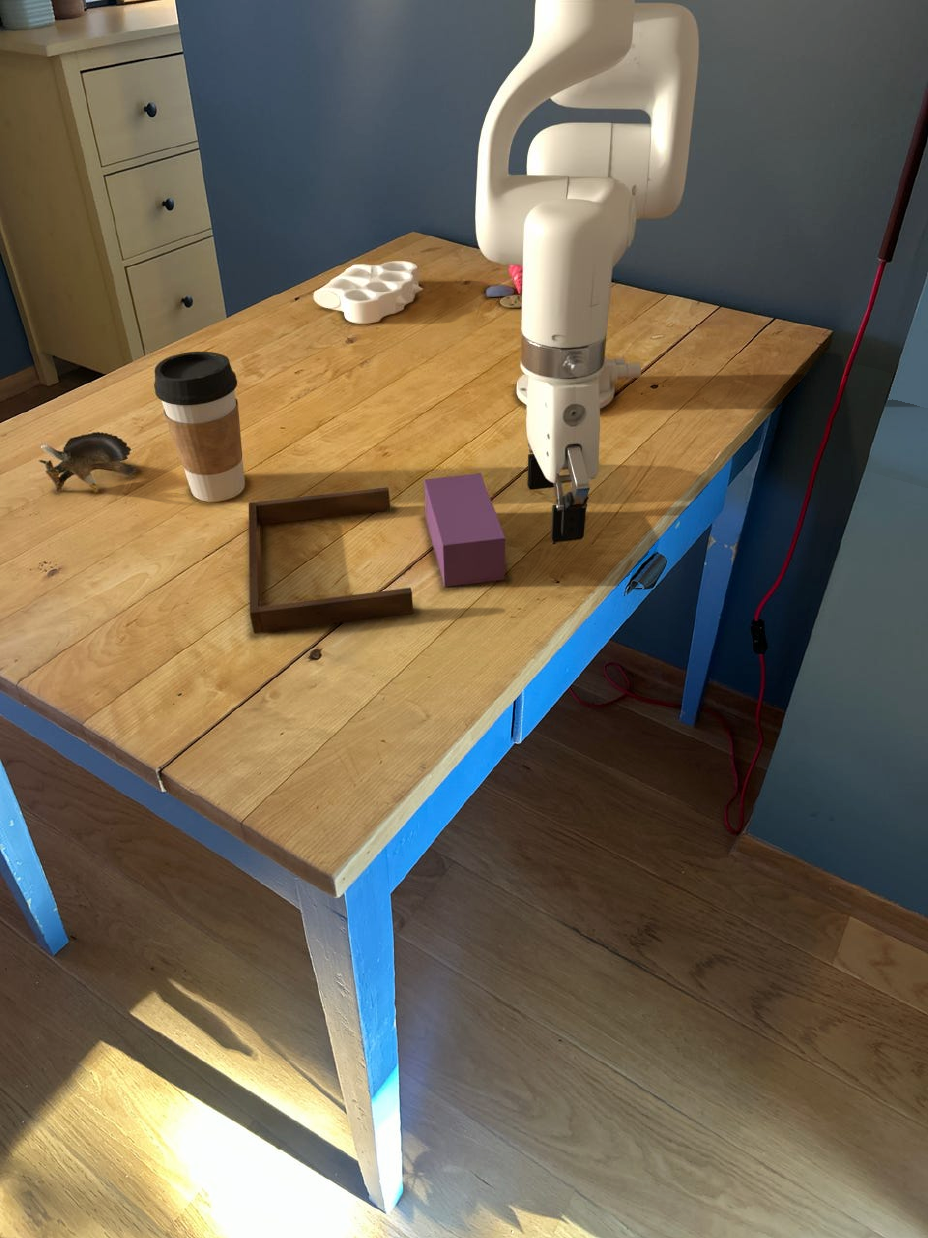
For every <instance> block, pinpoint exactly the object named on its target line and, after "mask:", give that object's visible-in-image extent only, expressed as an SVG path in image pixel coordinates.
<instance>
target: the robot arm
mask: <svg viewBox="0 0 928 1238" xmlns="http://www.w3.org/2000/svg"><path fill="white" fill-rule="evenodd" d="M699 38H700V37H699V29H698V23H697V20H696V18H695V16H694V14H693V13H692V12H691V10H690V9H689V8H687V7H685V6H684V5H681V4H677V3H672V2H636V0H535V4H534V30H533V38H532V43H531V45H530V47H529V49H528V50H527V52H526V53H525V55H524V56H523V57H522V59H521V60H520V61H519V62H518V64H516V66H515V67H514V68H513V69H512V71H511V72H509V74H508V75H507V77H506V78H505V80H504V81H503V83H502V84H501V86H500V87H499V89H498V91H497V92H496V94H495V96H494V98H493V100H492V102H491V104H490V106H489V108H488V111H487V113H486V116H485V119H484V122H483V125H482V129H481V132H480V138H479V143H478V153H477V167H476V168H477V171H476V188H475V189H476V190H475V191H476V193H475V235H476V241H477V245H478V248H479V250H480V252H481V254H482V255H483V256H484V257H485V258H486V259H487V260H489V261H491V262H493V263H495V264H497V265H504V266H510V265H522V266H523V285H522V293H521V296H522V308H521V331H520V332H521V333H520V334H521V335H520V369H521V371H522V373H523V374H522V375H521V376H519V378H518V380H517V382H516V395H517V398H518V399H519V400H520V402H522V403H523V404H524V405H526V410H525V414H526V415H525V425H526V426H525V427H526V438H527V441H528V443H527V445H528V452H529V453H528V454H527V474H526V475H527V476H526V477H527V480H526V485H527V488H528V490H529V491H534V490H535V491H536V490H544V489H553V491H554V499H555V504H552V505H551V522H550V523H551V524H550V525H551V526H550V539H551V542H553V543H556V544H557V543H563V542H572V541H579V540H582V539H584V537H585V529H586V516H587V508H588V501H589V499H590V496H589V492H590V488H591V485H590V480H595V479H596V478H597V477H598V474H599V463H600V462H599V461H600V438H601V437H600V436H601V434H600V433H601V409H603V408H605V407H606V406H608V405H609V404H610V402H612V401H613V399H614V396H615V389H616V388H615V383H617V381H618V380H622V379H625V380H630V379H639V378H640V377H641V376H642V366H641V364H640V362H629V363H627V362H626V359H625V357H624V356H623V357H614V358H608V357H606V350H607V349H606V348H607V339H608V337H607V336H608V325H609V312H610V299H611V291H612V290H611V289H612V277H613V269H614V267H615V266H616V265H617V264H618V263H619V261H620V260H621V259H622V257H623V256H624V254H625V253H626V250H628V249H629V248H631V246H632V244H633V241H634V238H635V234H636V233H635V232H636V228H637V220H658V219H663V218H666V217H669V216H671V215H673V214H674V213H675V212H676V211H677V210H678V209H679V208H678V207H679V206H680V204H681V202H682V198H683V194H684V191H685V186H686V181H687V180H686V179H687V173H688V172H687V171H688V165H689V156H690V155H689V154H690V145H691V136H692V127H693V117H694V108H695V100H696V99H695V98H696V91H697V90H696V89H697V82H698V69H699V57H700V56H699V55H700V39H699ZM549 99H550V100H551V101H552V102H554V103H555V104H557V105H558V106H562V107H565V108H573V109H591V110H641V111H642V112H645V113H646V114H647V115H648V116H649V118H650V123H618V122H617V123H612V122H563V123H558V124H554V125H550V126H548V127H546V128H544V129H542V130H541V131H540V132H538V133H537V134H536V135H535V137H534V138H533V139H532V141H531V143H530V145H529V148H528V152H527V158H526V174H510V173H509V164H510V163H509V161H510V154H511V148H512V144H513V142H514V141H513V140H514V139H515V136H516V133H517V131H518V129H519V128H520V126H521V125H522V123H523V122H524V121H525V119H526V118H527V117H528V116H529V115H530V114H531V113H532V112H533V111H534V110H535V109H537V107H539V106H540V105H541V104H543V103H545V102H546V101H547V100H549ZM564 470H568V473H569V474H563V475H561V471H564ZM566 483H567V484H568V483H571V486H570V491H567V492H566V493H565V494H564V490H563V484H566Z"/></svg>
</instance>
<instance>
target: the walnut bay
mask: <svg viewBox="0 0 928 1238" xmlns="http://www.w3.org/2000/svg"><path fill="white" fill-rule="evenodd" d="M390 496H391V495H390V489H389V487H388V486H386V487H385V486H384V487H377V488H368V489H367V488H366V489H360V490H359V489H357V490H350V491H349V490H348V491H341V492H340V491H339V492H331V493H324V494H323V493H322V494H316V495H315V494H313V495H304V496H295V497H287V498H278V499H269V500H260V501H252V502H251V501H250V502H248V580H249V581H248V583H249V584H248V586H249V591H248V594H249V597H248V598H249V599H248V600H249V617H250V622H251V627H252V631H253V634H261V633H270V632H279V631H286V630H293V629H301V628H308V627H316V626H324V625H332V624H340V623H347V622H348V623H349V622H354V621H363V620H370V619H379V618H385V617H394V616H395V617H396V616H402V615H410V614H414V604H413V603H414V602H413V592H412V588H411V587H405V588H398V589H396V588H395V589H388V590H381V591H371V592H365V593H357V594H348V595H340V596H333V597H324V598H318V599H310V600H301V601H294V602H286V603H279V604H278V603H277V604H270V605H263V596H262V595H263V594H262V592H263V591H262V559H261V558H262V556H261V555H262V554H261V550H262V549H261V526H262V525H272V524H280V523H281V524H282V523H288V522H289V523H290V522H297V521H306V520H316V519H322V518H323V519H324V518H333V517H342V516H349V515H360V514H367V513H368V514H369V513H376V512H385V511H390V510H391V497H390Z"/></svg>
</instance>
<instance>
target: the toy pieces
mask: <svg viewBox="0 0 928 1238" xmlns="http://www.w3.org/2000/svg"><path fill="white" fill-rule="evenodd" d="M508 271H509V274H510V277H511V279H512V282H513V284H514V285H515V288H516V291H517V292H518V294H515V290H514V289H513V288H512V287H511V286H510V285H504V284H503V285H502V284H501V285H500V284H497V285H491V286H490V287H488V288H487V289H486V291H485V293H486V297H487V298H499V297H502V298H500V301H499V303H500V304H501V306H503V307H505V308H508V309H516V308H517V309H522V285H523V266H522V265H509V268H508Z"/></svg>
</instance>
